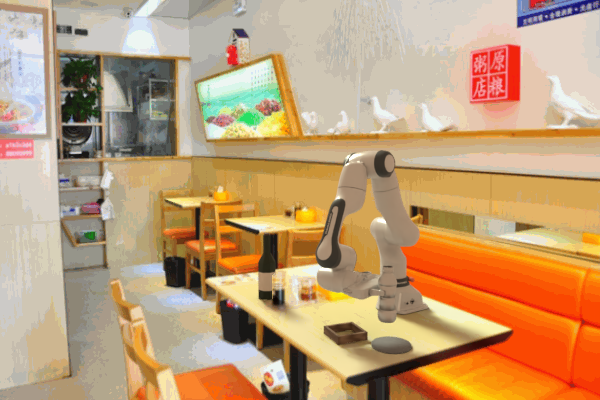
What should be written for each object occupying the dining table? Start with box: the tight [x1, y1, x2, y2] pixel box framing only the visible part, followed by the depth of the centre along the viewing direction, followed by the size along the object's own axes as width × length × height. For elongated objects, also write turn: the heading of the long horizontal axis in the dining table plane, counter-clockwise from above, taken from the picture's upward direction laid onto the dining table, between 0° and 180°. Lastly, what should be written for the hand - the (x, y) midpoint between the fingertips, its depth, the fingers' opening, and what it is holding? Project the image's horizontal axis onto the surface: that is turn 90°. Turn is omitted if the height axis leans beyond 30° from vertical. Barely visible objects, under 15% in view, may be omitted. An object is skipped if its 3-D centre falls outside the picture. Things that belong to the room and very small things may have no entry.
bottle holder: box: [323, 321, 369, 346], centre depth 198 cm, size 12×12×3 cm
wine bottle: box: [257, 232, 276, 301], centre depth 245 cm, size 8×8×30 cm
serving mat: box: [370, 335, 413, 355], centre depth 189 cm, size 14×14×1 cm
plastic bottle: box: [377, 265, 398, 324], centre depth 188 cm, size 6×7×20 cm
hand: (389, 291), depth 187 cm, fingers closed on plastic bottle, 6 cm apart
